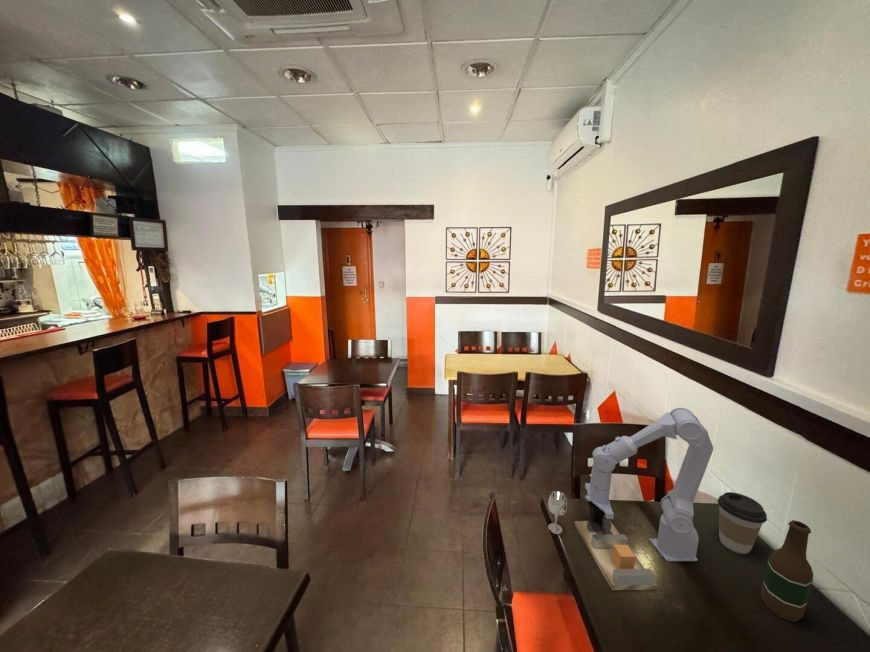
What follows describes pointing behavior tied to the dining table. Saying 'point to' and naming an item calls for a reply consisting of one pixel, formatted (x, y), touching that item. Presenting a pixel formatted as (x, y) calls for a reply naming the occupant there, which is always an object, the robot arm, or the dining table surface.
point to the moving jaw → (605, 534)
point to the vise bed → (608, 558)
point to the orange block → (623, 557)
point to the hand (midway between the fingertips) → (595, 522)
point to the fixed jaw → (633, 577)
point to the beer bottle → (789, 575)
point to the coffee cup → (739, 521)
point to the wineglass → (557, 509)
